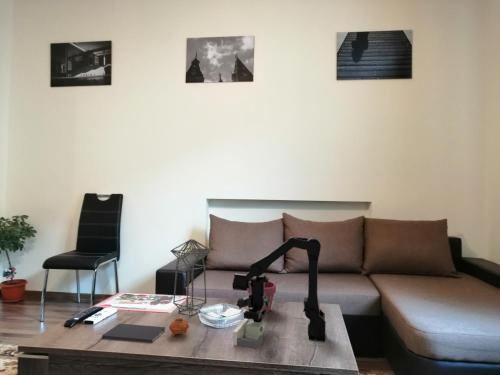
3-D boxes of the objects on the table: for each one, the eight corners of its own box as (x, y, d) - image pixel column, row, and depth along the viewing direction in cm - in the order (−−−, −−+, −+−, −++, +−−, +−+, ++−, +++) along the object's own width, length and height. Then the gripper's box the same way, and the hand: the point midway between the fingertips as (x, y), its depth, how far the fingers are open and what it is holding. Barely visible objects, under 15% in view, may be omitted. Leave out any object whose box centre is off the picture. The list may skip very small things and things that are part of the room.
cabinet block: (263, 335, 139) (263, 322, 139) (260, 340, 134) (260, 327, 134) (249, 333, 140) (249, 321, 141) (245, 338, 136) (245, 325, 136)
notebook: (101, 339, 134) (152, 344, 131) (101, 335, 134) (152, 339, 131) (119, 327, 147) (166, 330, 143) (119, 323, 147) (166, 327, 143)
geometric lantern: (166, 313, 163) (168, 239, 165) (190, 305, 176) (191, 237, 177) (190, 319, 154) (191, 241, 156) (213, 311, 167) (214, 239, 168)
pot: (192, 330, 142) (191, 315, 140) (184, 342, 135) (183, 327, 133) (175, 327, 144) (174, 313, 143) (166, 339, 137) (164, 324, 135)
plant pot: (266, 317, 159) (266, 289, 159) (241, 311, 166) (241, 285, 166) (280, 308, 171) (280, 282, 171) (256, 303, 178) (256, 278, 179)
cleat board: (268, 333, 140) (268, 321, 140) (258, 348, 126) (258, 335, 126) (245, 330, 143) (245, 318, 143) (233, 344, 129) (233, 331, 129)
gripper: (246, 284, 154) (246, 319, 153) (231, 295, 136) (231, 335, 136) (270, 286, 150) (270, 322, 150) (258, 298, 132) (258, 339, 132)
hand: (257, 329), depth 142 cm, fingers closed
